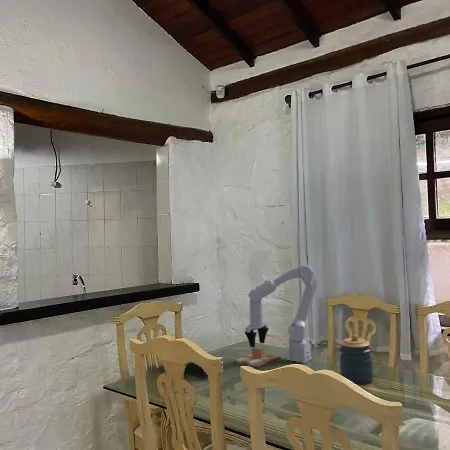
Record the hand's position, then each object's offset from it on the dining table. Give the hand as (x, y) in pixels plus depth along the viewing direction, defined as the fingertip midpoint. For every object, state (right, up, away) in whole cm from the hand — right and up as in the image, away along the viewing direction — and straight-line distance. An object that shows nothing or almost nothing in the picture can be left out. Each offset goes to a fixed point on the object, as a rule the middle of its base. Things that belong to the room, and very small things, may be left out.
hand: (257, 345), depth 210 cm
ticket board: (0, -8, 0) cm, 8 cm away
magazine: (-32, -9, -10) cm, 35 cm away
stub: (0, -6, 0) cm, 6 cm away
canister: (+37, -6, -29) cm, 48 cm away
